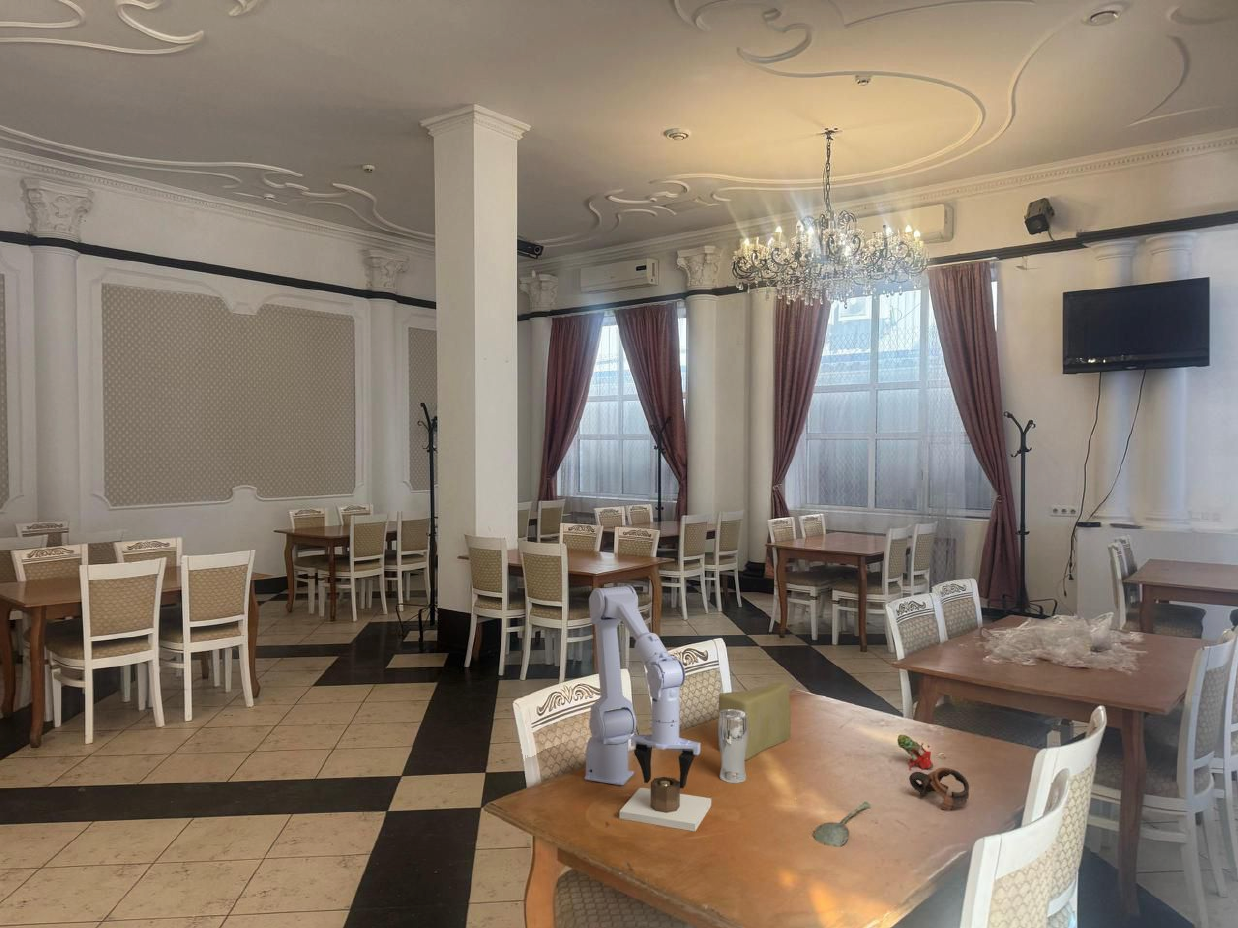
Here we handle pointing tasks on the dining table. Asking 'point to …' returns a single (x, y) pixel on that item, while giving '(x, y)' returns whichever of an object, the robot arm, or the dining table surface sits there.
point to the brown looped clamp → (940, 786)
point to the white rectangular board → (683, 818)
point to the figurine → (915, 752)
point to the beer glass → (733, 744)
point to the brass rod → (665, 783)
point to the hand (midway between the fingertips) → (665, 783)
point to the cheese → (762, 715)
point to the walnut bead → (665, 795)
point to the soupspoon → (836, 830)
